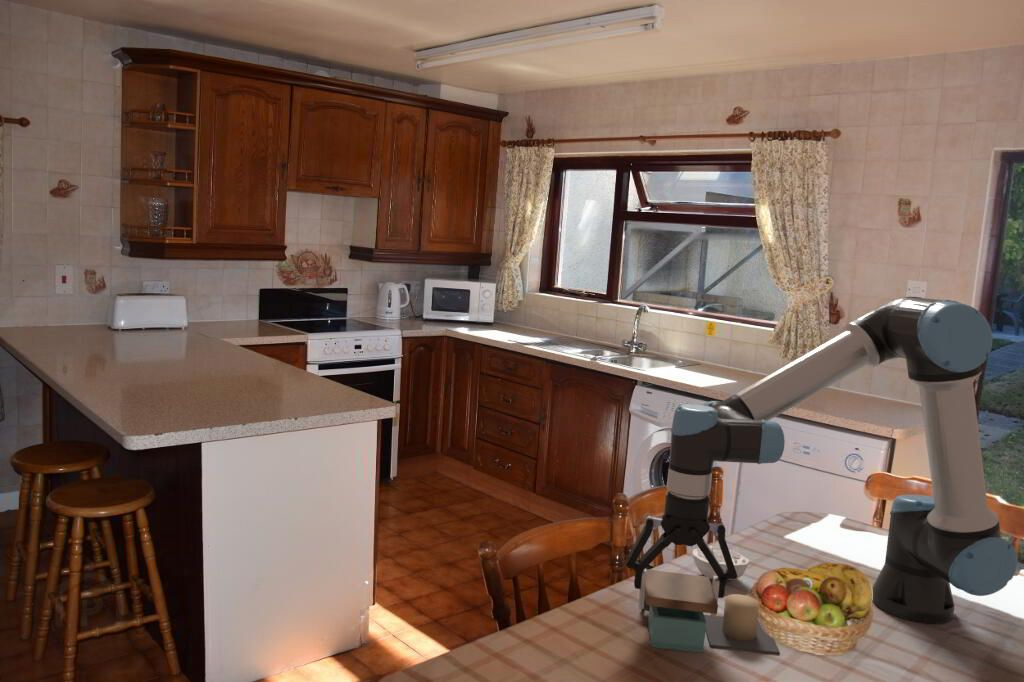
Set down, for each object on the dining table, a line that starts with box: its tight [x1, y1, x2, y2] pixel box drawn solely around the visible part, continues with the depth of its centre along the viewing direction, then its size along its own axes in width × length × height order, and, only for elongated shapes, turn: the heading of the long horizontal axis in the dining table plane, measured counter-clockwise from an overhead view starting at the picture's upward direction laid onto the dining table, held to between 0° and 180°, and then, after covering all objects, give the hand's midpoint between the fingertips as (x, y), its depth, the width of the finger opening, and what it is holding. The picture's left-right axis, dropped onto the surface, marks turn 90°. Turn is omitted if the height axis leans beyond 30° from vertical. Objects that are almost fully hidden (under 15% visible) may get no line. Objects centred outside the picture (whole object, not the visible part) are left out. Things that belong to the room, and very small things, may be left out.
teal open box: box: [647, 606, 706, 654], centre depth 146 cm, size 9×9×6 cm
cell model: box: [691, 545, 751, 581], centre depth 174 cm, size 10×12×7 cm
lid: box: [645, 568, 719, 615], centre depth 145 cm, size 12×12×2 cm
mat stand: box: [704, 593, 781, 655], centre depth 148 cm, size 12×12×6 cm
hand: (676, 609), depth 145 cm, fingers closed on lid, 12 cm apart
